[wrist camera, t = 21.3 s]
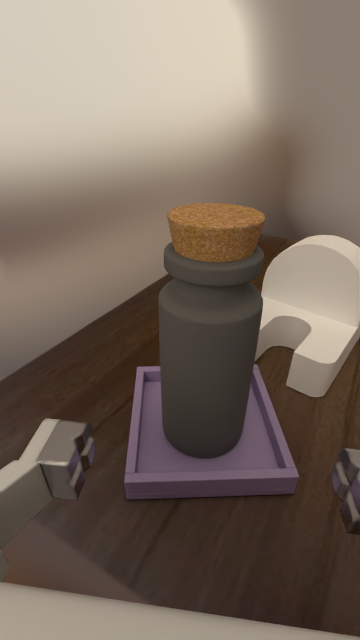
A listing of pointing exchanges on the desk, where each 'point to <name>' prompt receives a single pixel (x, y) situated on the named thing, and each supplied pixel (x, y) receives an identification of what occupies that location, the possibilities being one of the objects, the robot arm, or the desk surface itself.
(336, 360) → the white slotted bracket
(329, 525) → the desk surface
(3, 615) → the robot arm
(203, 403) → the bottle
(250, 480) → the tray
